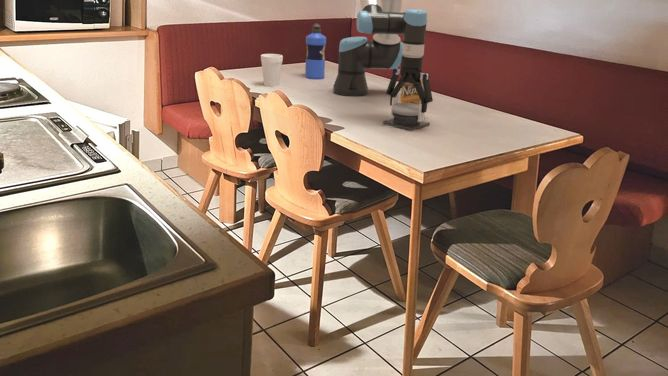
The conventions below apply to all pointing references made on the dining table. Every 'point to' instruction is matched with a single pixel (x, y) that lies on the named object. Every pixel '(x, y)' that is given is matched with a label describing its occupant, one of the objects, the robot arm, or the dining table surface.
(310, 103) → the dining table surface
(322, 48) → the water bottle
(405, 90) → the candy box
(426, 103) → the robot arm
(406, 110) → the cap
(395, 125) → the square dish mold
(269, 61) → the foam cup
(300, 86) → the dining table surface
